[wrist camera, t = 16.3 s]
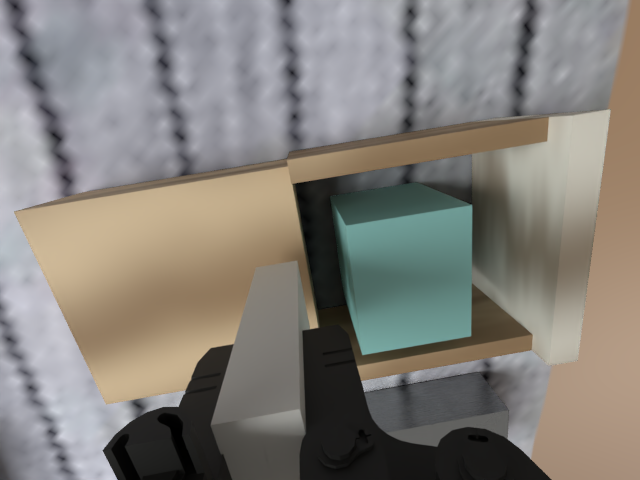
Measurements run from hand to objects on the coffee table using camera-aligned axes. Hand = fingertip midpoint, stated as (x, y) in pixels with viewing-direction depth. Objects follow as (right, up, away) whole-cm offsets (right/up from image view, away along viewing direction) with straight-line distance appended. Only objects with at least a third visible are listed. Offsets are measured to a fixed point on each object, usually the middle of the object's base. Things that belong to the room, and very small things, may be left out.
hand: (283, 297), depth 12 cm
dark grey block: (+8, -9, +10) cm, 16 cm away
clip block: (+2, +1, +3) cm, 4 cm away
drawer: (+1, +2, +5) cm, 5 cm away
